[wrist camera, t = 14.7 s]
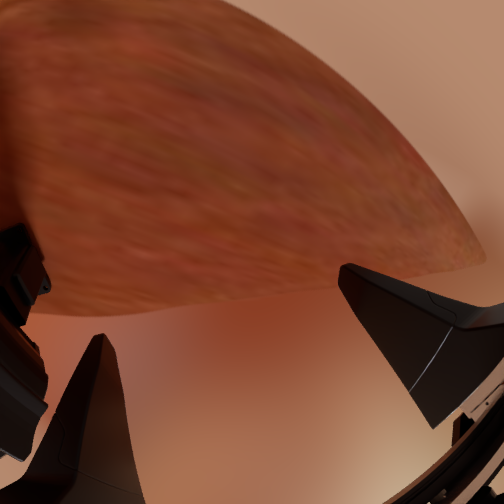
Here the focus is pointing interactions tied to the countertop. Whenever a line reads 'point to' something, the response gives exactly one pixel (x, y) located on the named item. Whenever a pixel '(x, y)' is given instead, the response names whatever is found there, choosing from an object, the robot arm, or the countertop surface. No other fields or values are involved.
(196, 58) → the countertop surface
